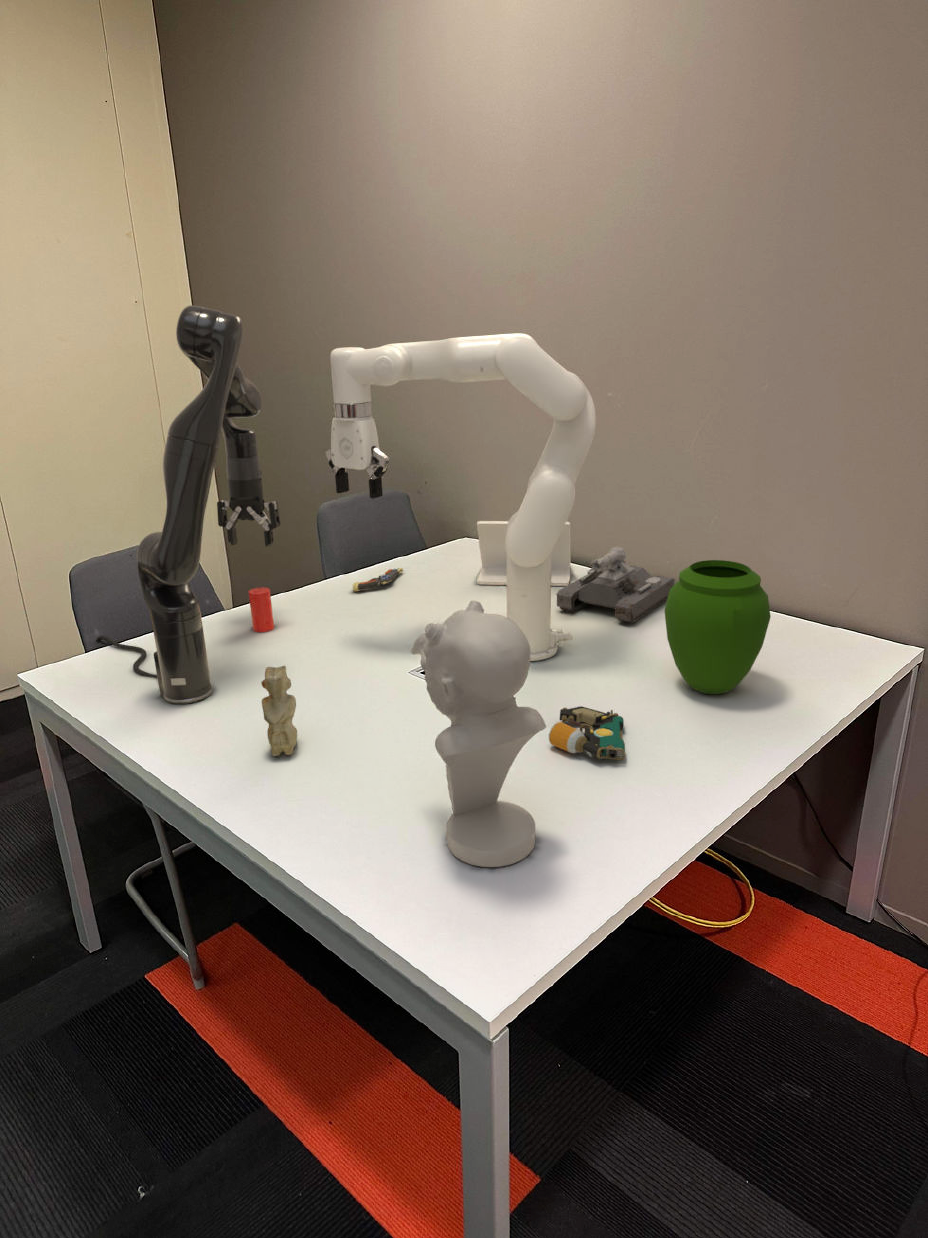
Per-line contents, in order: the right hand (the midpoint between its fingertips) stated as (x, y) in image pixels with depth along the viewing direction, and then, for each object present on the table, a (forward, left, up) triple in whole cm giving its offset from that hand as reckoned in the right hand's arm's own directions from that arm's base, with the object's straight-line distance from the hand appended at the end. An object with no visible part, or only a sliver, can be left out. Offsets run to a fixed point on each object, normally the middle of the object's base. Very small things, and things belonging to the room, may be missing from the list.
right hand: (359, 494), depth 179 cm
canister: (+23, -21, -35) cm, 47 cm away
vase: (-63, +38, -35) cm, 82 cm away
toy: (-63, -12, -35) cm, 73 cm away
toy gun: (-8, -48, -35) cm, 60 cm away
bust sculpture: (-6, +74, -35) cm, 82 cm away
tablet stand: (-48, -42, -35) cm, 73 cm away
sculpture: (+20, +41, -35) cm, 58 cm away
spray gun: (-33, +52, -35) cm, 71 cm away
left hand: (+24, -21, -14) cm, 35 cm away
